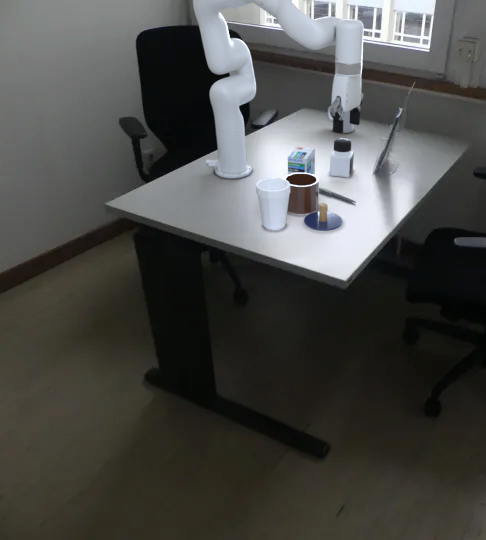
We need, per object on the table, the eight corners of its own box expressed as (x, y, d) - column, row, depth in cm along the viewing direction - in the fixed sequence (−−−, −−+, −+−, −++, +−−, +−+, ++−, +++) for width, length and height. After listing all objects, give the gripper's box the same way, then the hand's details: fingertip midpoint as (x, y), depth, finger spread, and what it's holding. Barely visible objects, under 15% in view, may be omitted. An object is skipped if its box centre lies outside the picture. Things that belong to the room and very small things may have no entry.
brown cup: (283, 215, 159) (283, 186, 154) (284, 200, 168) (284, 172, 163) (318, 215, 160) (318, 186, 155) (317, 200, 168) (318, 172, 163)
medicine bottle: (349, 177, 184) (351, 144, 178) (329, 175, 186) (330, 142, 179) (352, 170, 190) (354, 137, 184) (333, 168, 191) (334, 135, 185)
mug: (356, 128, 229) (357, 103, 223) (348, 134, 223) (349, 108, 217) (331, 124, 234) (332, 99, 228) (322, 129, 227) (323, 103, 221)
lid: (304, 232, 151) (304, 213, 148) (304, 214, 160) (304, 196, 157) (343, 232, 151) (344, 213, 148) (341, 214, 161) (341, 196, 157)
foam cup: (291, 218, 158) (290, 177, 151) (290, 233, 150) (289, 191, 143) (259, 218, 157) (257, 177, 150) (256, 233, 150) (254, 191, 143)
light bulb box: (307, 190, 175) (307, 159, 169) (287, 188, 176) (286, 157, 170) (315, 178, 184) (315, 148, 178) (296, 175, 185) (296, 145, 179)
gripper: (352, 61, 157) (349, 119, 166) (320, 72, 144) (320, 133, 154) (374, 64, 154) (371, 123, 163) (344, 76, 141) (342, 138, 150)
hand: (346, 128), depth 158 cm, fingers open, 9 cm apart
